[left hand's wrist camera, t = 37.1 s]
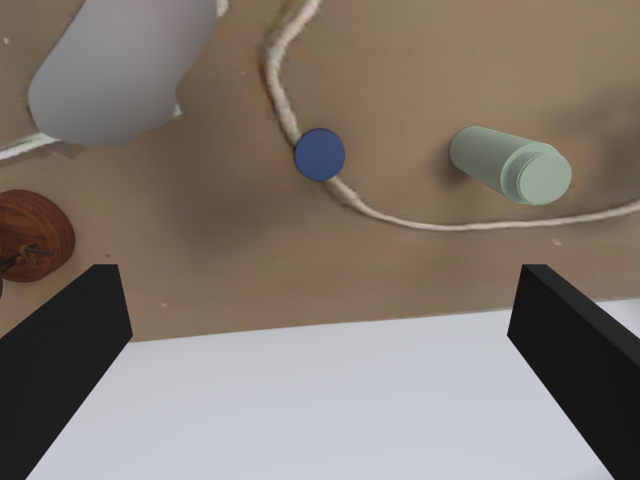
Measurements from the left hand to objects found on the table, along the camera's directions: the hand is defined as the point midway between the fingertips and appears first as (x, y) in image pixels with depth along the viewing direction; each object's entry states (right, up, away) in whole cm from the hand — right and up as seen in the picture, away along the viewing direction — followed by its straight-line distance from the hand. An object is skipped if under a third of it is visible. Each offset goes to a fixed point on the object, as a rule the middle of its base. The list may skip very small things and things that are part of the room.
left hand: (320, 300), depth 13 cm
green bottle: (+17, +12, +30) cm, 37 cm away
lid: (0, +11, +29) cm, 31 cm away
